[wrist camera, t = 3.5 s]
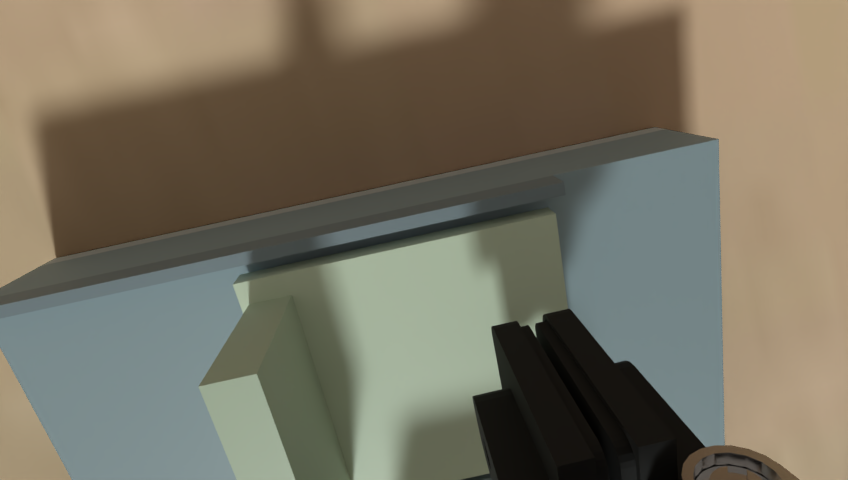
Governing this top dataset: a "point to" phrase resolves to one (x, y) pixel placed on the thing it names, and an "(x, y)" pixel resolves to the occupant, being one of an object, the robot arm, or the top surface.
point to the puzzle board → (352, 229)
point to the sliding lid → (379, 353)
